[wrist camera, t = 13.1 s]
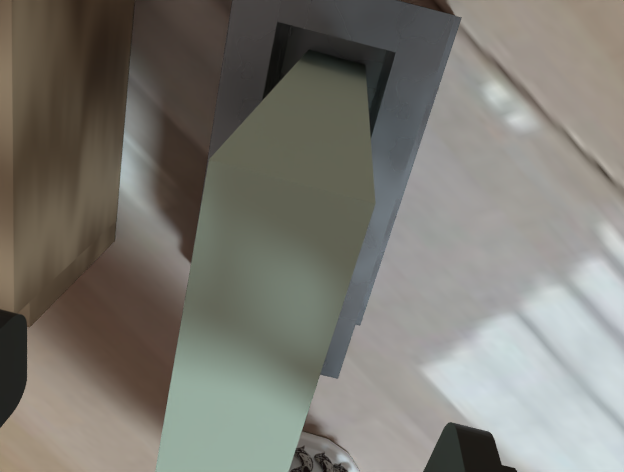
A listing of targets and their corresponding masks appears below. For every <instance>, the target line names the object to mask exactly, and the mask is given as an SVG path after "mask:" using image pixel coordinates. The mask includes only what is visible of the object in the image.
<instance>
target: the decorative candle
mask: <svg viewBox="0 0 624 472" xmlns="http://www.w3.org/2000/svg"><path fill="white" fill-rule="evenodd" d="M289 472H360V470H359V469H358V467H357V466H356V464H355V463H354V461H353V459H352V458H351V456H350V455H349V453H348V452H346V451H345V450H343V449H342V448H340V447H339V446H338V445H336V444H335V443H333V442H332V441H330V440H329V439H327V438H323V437H320V436H317V435H313V434H310V433H307V432H303V431H302V432H301V435H300V438H299V441H298V444H297V447H296V450H295V453H294V456H293V459H292V463H291V466H290V469H289Z"/></svg>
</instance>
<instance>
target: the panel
mask: <svg viewBox="0 0 624 472" xmlns="http://www.w3.org/2000/svg"><path fill="white" fill-rule="evenodd" d="M374 207H375V190H374V177H373V163H372V149H371V136H370V122H369V109H368V95H367V81H366V68H365V64H361V63H357V62H354V61H350V60H346V59H343V58H339V57H335V56H332V55H328V54H324V53H321V52H317V51H313V50H310V49H309V50H308V51H307V52H306V53H305V54H304V55H303V56H302V58H301V59H300V60H299V61H298V62H297V63H296V64H295V65H294V66H293V68H292V69H291V70H290V71H289V72H288V73H287V74H286V75H285V76H284V77H283V79H282V80H281V81H280V82H279V83H278V84H277V85H276V86H275V87H274V88H273V90H272V91H271V92H270V93H269V94H268V95H267V96H266V97H265V98H264V99H263V101H262V102H261V103H260V104H259V105H258V106H257V107H256V108H255V109H254V110H253V112H252V113H251V114H250V115H249V116H248V117H247V118H246V119H245V120H244V122H243V123H242V124H241V125H240V126H239V127H238V128H237V129H236V130H235V131H234V133H233V134H232V135H231V136H230V137H229V138H228V139H227V140H226V141H225V142H224V144H223V145H222V146H221V147H220V148H219V149H218V150H217V151H216V152H215V153H214V155H213V156H212V157H211V158H210V159H209V162H208V168H207V174H206V180H205V186H204V192H203V197H202V203H201V209H200V215H199V221H198V226H197V232H196V238H195V244H194V250H193V255H192V261H191V267H190V273H189V279H188V285H187V290H186V296H185V302H184V308H183V314H182V319H181V325H180V331H179V337H178V343H177V349H176V354H175V360H174V366H173V372H172V378H171V383H170V389H169V395H168V401H167V407H166V412H165V418H164V424H163V430H162V436H161V442H160V447H159V453H158V459H157V465H156V471H155V472H289V469H290V466H291V463H292V459H293V456H294V453H295V450H296V447H297V444H298V441H299V438H300V435H301V432H302V429H303V426H304V422H305V419H306V416H307V413H308V410H309V407H310V404H311V401H312V398H313V395H314V392H315V389H316V386H317V382H318V379H319V376H320V373H321V370H322V367H323V364H324V361H325V358H326V355H327V352H328V349H329V345H330V342H331V339H332V336H333V333H334V330H335V327H336V324H337V321H338V318H339V315H340V312H341V308H342V305H343V302H344V299H345V296H346V293H347V290H348V287H349V284H350V281H351V278H352V275H353V271H354V268H355V265H356V262H357V259H358V256H359V253H360V250H361V247H362V244H363V241H364V238H365V235H366V231H367V228H368V225H369V222H370V219H371V216H372V213H373V210H374Z"/></svg>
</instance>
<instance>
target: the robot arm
mask: <svg viewBox="0 0 624 472" xmlns="http://www.w3.org/2000/svg"><path fill="white" fill-rule="evenodd" d="M26 381H27V321H26V318H25V316H24V315H22V314H18V313H14V312H10V311H6V310H2V309H0V428H1V426H2V425H3V424H4V423H5V422H6V420H7V419H8V418H9V417H10V415H11V414H12V413H13V412H14V410H15V409H16V407H17V405H18V404H19V402H20V400H21V398H22V395H23V393H24V390H25V386H26ZM423 472H517V471H516V469H515V468H512V467H508V466H504V465H502V464H501V461H500V457H499V454H498V451H497V447H496V444H495V440H494V437H493V436H492V434H491V433H490V432H488V431H484V430H480V429H476V428H472V427H468V426H464V425H460V424H456V423H452V422H450V423H448V424H447V425H446V426H445V427H444V429H443V431H442V433H441V436H440V438H439V440H438V442H437V444H436V446H435V448H434V450H433V452H432V454H431V457H430V459H429V461H428V463H427V465H426V467H425V469H424V471H423Z"/></svg>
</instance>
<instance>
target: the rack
mask: <svg viewBox="0 0 624 472" xmlns="http://www.w3.org/2000/svg"><path fill="white" fill-rule="evenodd" d="M134 3H135V0H0V309H2V310H6V311H10V312H14V313H18V314H22V315H24V316H25V318H26V321H27V327H30V326H31V325H32V324H33V323H34V322H35V321H36V320H37V319H38V318H39V317H40V316H41V315H42V314H43V313H44V312H45V311H46V310H47V309H48V308H49V307H50V306H51V305H52V304H53V303H54V302H55V301H56V300H57V299H58V298H59V297H60V296H61V295H62V294H63V293H64V292H65V291H66V290H67V289H68V288H69V287H70V286H71V285H72V284H73V283H74V282H75V281H76V280H77V279H78V278H79V277H80V276H81V275H82V274H83V273H84V272H85V271H86V270H87V269H88V268H89V267H90V266H91V265H92V264H93V263H94V262H95V261H96V260H97V258H98V257H99V256H100V255H101V254H102V253H103V252H104V251H105V250H106V249H107V248H108V247H109V246H110V245H111V244H112V243H113V242H114V241H115V232H116V220H117V208H118V196H119V184H120V172H121V159H122V147H123V135H124V123H125V111H126V99H127V87H128V75H129V63H130V51H131V39H132V27H133V15H134Z"/></svg>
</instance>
